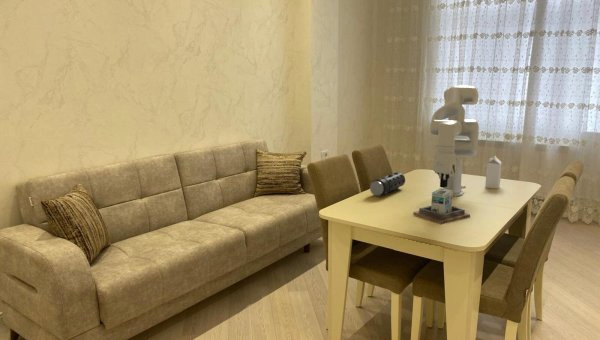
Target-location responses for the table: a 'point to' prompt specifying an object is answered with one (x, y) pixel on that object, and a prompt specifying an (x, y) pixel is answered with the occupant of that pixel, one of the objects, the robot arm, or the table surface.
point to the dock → (442, 215)
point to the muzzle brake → (387, 184)
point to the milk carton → (493, 173)
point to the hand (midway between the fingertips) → (443, 186)
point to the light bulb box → (442, 201)
